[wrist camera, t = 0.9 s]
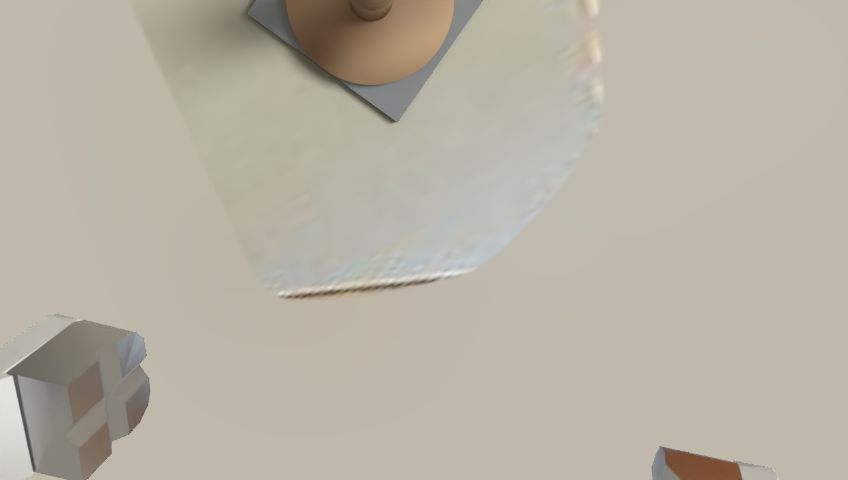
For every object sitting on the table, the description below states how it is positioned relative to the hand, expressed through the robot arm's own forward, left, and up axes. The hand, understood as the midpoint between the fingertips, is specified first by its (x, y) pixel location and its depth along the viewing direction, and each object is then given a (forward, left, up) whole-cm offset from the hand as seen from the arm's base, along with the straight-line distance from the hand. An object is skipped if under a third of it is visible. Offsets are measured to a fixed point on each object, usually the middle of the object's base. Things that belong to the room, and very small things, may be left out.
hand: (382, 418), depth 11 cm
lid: (-6, +9, -34) cm, 36 cm away
